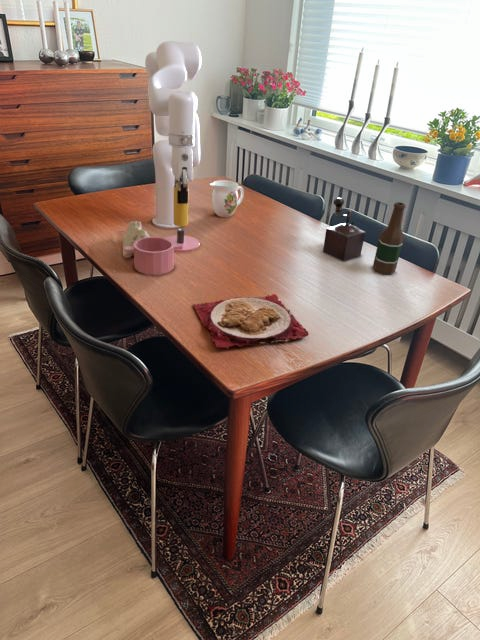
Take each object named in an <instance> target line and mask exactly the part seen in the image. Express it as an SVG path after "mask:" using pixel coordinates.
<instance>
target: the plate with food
mask: <svg viewBox="0 0 480 640" xmlns="http://www.w3.org/2000/svg"><path fill="white" fill-rule="evenodd" d="M192 307H193V308H194V310H195V311H196V313H197V316H198V317H199V319H200V321H201V323H202V325H203V327H204V328H206V329H208V330H210V334H209V337H210V340H211V341H212V343H214V344H215V347H216V348H221V349H223V348H226V349H229V348H230V347H234V346H237V347H238V348H243V347H244V346H247V345H248V346H249V345H256V344H262V345H263V344H266V342H265V341H259V340H262V339H269V338H274V340H272V341H271V343H272V344H275V345H276V344H277V343H278V342H283V343H284V342H285V343H286V342H287V343H288V342H290V341H294V340H297V339H301V338H302V339H303V338H305V337H308V336H309V335H310V333H309V331H308V330H306V328H305V327H304V326H303V325H302V324H301V322H299V321H298V320H297V319H296V317H294V314H290V311H291V310H290V309H287V308H286V306H285V304H283V303H282V300H279V297H278V295H277V294H275V293H273V294H271V295H270V294H268V295H266V296H265V297H253V296H250V297H249V296H248V297H243V296H241V297H240V296H235V297H233V298H227V299H223V300H222V299H220V300H216V301H214V302H205V303H201V304H199V303H198V304H192Z"/></svg>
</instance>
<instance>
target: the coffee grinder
mask: <svg viewBox="0 0 480 640" xmlns="http://www.w3.org/2000/svg"><path fill="white" fill-rule="evenodd" d="M344 204H345V200H344V199H343V197H337V198H335V199H334V200H333V205H334V206H335V209H334V215H335V216H337V217H340V218H341V217H342V218H346V220H345V222H344V223H339V224H336V225H332V226H329V227H326V229H325V235H324V240H323V241H324V242H323V247H322V252H323V253H325V254H326V255H328V256H329V257H330V256H331V257H332V258H334V259H337V260H339V261H341V262H346V261H349V260H352V259H356V258H358V257H361V255H362V250H363V245H364V241H365V236H366V231H364V230H362V229H360V228H359V227H357V226H355V225H354V224H355V223H354V222H351V223H349V222H350V217H352V215H351V213H352V211H351V210H347V213H346V214H343V213H340V212H342V211H343V210H344V209H343V206H344Z"/></svg>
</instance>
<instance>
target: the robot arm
mask: <svg viewBox="0 0 480 640" xmlns="http://www.w3.org/2000/svg"><path fill="white" fill-rule="evenodd" d="M144 61H145V63H144V66H145V73H146V77H147V80H148V83H147V98H148V106H149V110H150V111H151V113H152V114H153V115H154V124H155V125H154V126H155V131H156V132H157V134H158V135H159V136H162V137H168V139H161V140H157V141H155V142H154V144H153V146H152V158H153V164H154V165H153V166H154V174H155V175H154V177H155V178H154V179H155V215H156V216H154V218H152V219H151V221H152V224H153V225H154V226H156V227H159V228H164V229H174V228H181V226H176V225H174V187H176V183H177V182H178V190H177V202H178V204H187V203H188V204H189V192H188V189H189V181H190V182H193V180H194V168H196V167H198V166H199V165H200V163H201V133H200V119H199V116H198V113H197V111H198V107H199V106H198V105H199V103H198V96H197V95H196V94H195V92H194V91H193V90H190V89H183V88H181V87H183V86H184V84H185V83H186V81H193V80H194V79H195V78H196V77H197V75H198V73H199V72H200V70H201V66H202V53H201V49H200V48H199V46H198V45H197V44H196V43H194V42H188V41H175V40H174V41H173V40H169V41H168V40H167V41H163V42H161V43H160V44H159V45H158V46H157V48H156V51H151V52H149V53H148V54H147V55H146V56H145V60H144ZM181 182H183V184H181Z"/></svg>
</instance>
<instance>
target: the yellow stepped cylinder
mask: <svg viewBox="0 0 480 640" xmlns="http://www.w3.org/2000/svg"><path fill="white" fill-rule="evenodd" d="M181 184H183V182H181ZM177 190H178V182H177V183H176V187H174V225H176V226H180V227H187V226H188V225H189V202H188V203H187V204H178V202H177ZM188 193H189V188H188Z"/></svg>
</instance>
